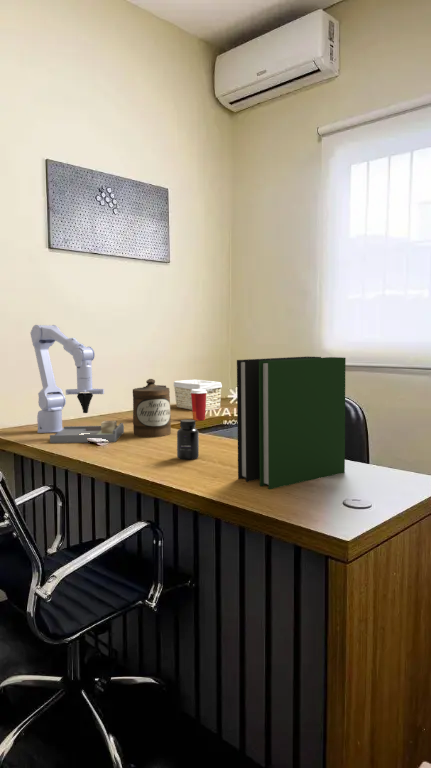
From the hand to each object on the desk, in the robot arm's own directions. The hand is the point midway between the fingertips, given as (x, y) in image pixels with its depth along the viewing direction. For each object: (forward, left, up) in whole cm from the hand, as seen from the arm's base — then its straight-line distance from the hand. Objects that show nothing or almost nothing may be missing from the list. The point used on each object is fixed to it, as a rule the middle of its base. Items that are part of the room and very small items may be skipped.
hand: (85, 412), depth 208 cm
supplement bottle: (+41, -40, -10) cm, 59 cm away
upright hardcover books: (+70, -63, -10) cm, 95 cm away
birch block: (+9, -2, -7) cm, 12 cm away
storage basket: (+42, +77, -10) cm, 89 cm away
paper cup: (+43, +38, -10) cm, 58 cm away
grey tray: (+1, -2, -9) cm, 10 cm away
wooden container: (+25, +4, -10) cm, 27 cm away
